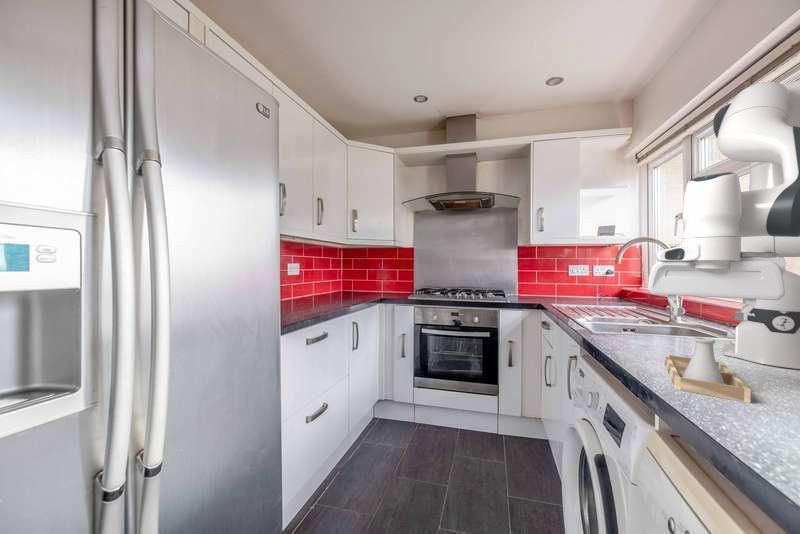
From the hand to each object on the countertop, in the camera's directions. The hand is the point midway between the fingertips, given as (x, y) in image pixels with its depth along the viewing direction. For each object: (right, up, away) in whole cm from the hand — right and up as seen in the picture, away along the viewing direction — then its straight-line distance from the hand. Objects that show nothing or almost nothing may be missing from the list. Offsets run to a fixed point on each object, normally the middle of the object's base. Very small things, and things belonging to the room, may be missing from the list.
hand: (708, 318), depth 66 cm
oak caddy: (+2, -14, +4) cm, 15 cm away
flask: (-1, -14, 0) cm, 14 cm away
